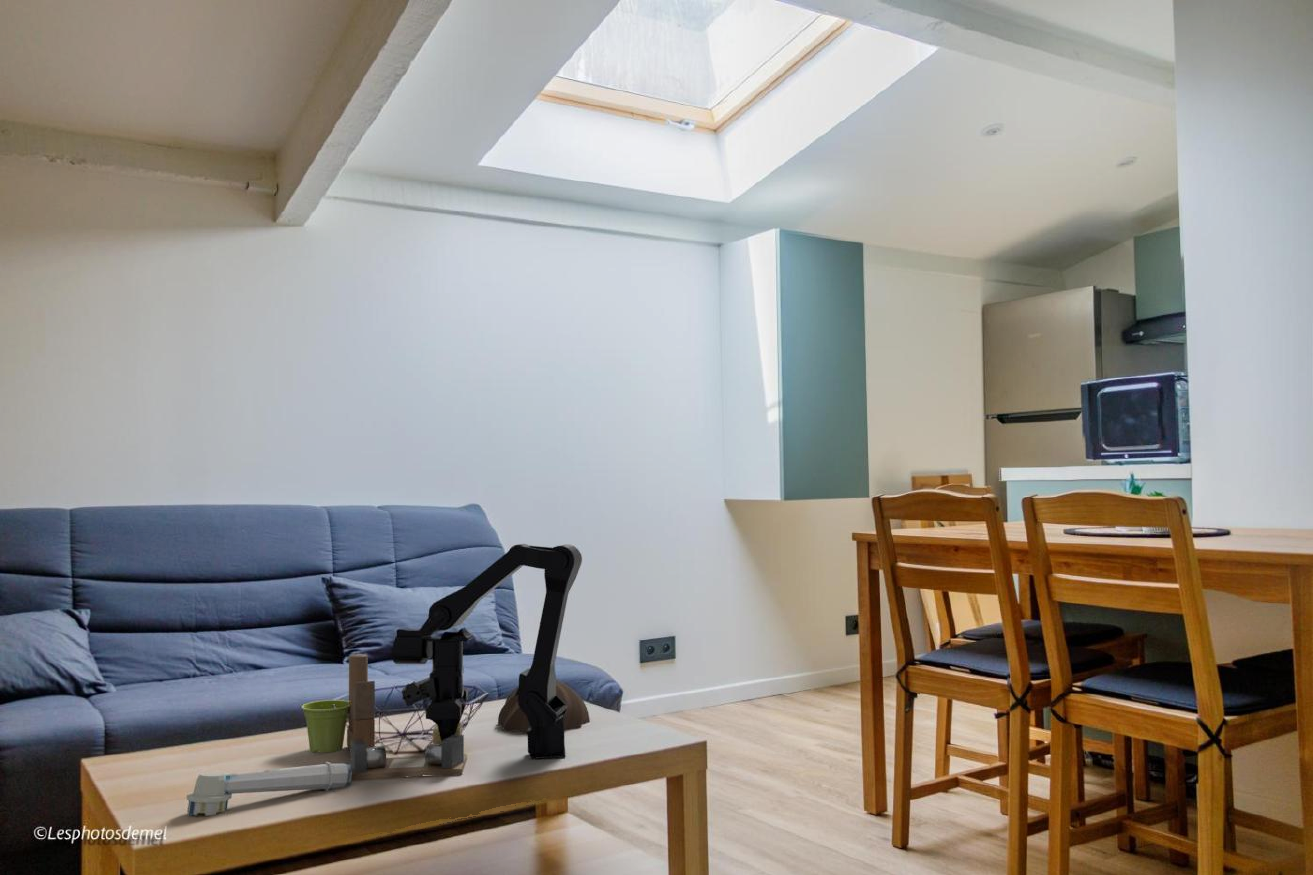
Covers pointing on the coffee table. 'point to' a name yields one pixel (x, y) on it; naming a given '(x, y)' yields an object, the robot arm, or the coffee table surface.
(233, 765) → the coffee table surface
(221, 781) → the toothbrush head
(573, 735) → the coffee table surface
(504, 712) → the decorative dome
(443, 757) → the shaft
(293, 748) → the coffee table surface
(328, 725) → the plant pot
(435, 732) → the cream cube
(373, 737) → the wooden block
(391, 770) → the board
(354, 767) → the shaft
